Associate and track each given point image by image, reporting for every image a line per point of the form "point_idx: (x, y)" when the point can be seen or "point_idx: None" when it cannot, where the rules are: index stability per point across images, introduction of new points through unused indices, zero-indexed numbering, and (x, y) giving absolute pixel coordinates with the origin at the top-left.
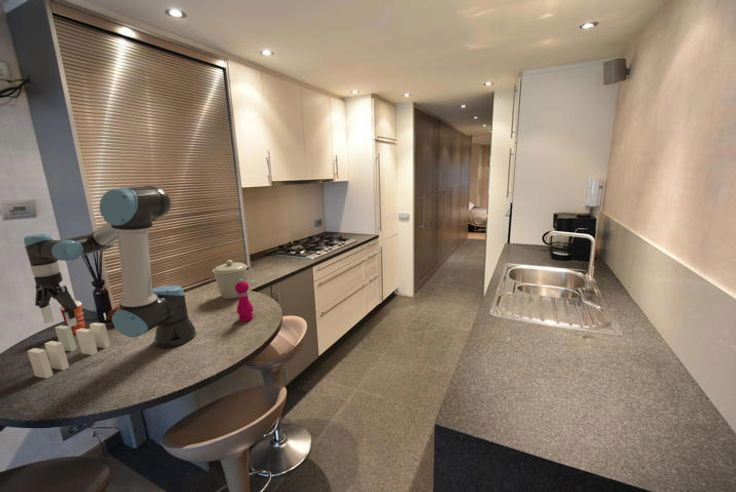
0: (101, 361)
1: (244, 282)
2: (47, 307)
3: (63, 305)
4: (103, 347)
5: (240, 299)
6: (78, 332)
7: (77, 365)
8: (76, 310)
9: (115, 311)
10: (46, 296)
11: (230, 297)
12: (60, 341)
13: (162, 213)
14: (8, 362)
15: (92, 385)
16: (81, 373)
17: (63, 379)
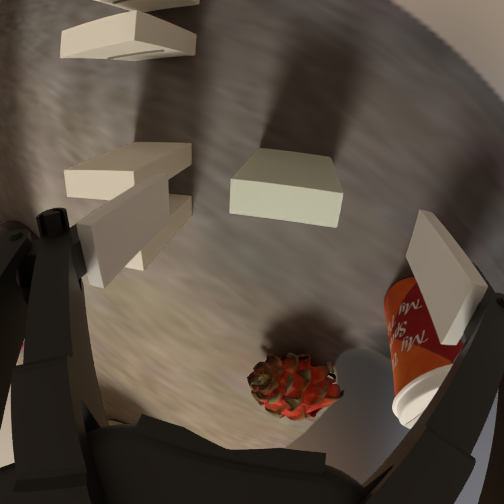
0: (69, 122)
1: None
2: (449, 321)
3: (36, 267)
4: None
5: None
6: (118, 167)
7: (115, 77)
8: (399, 376)
9: (278, 394)
10: (399, 454)
11: (109, 422)
12: (320, 165)
13: None
14: (456, 57)
15: (8, 51)
16: (63, 59)
17: (83, 20)
